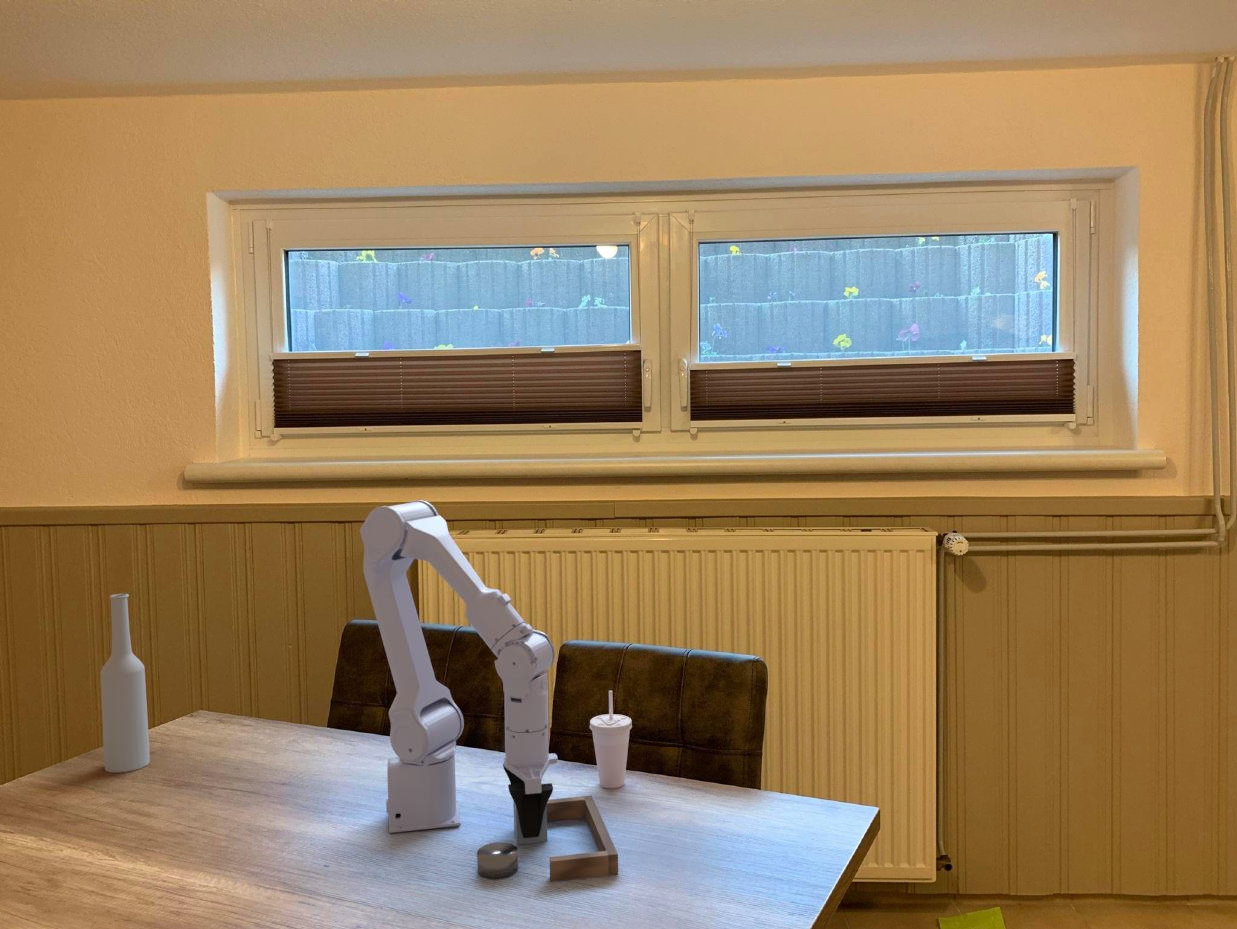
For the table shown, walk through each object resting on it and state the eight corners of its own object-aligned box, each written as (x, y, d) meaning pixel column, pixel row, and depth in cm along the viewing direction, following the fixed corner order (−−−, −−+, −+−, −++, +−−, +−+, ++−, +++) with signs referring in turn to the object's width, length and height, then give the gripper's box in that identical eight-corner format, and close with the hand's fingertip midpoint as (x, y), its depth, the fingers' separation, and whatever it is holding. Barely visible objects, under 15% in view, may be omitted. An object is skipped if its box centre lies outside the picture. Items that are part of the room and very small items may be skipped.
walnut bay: (551, 881, 117) (550, 861, 117) (533, 818, 135) (533, 801, 135) (618, 874, 119) (617, 854, 119) (592, 812, 137) (591, 795, 137)
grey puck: (478, 882, 118) (478, 862, 117) (476, 864, 122) (475, 844, 122) (520, 878, 119) (519, 858, 118) (516, 859, 123) (515, 840, 123)
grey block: (517, 844, 127) (515, 799, 127) (514, 831, 131) (513, 787, 131) (547, 841, 128) (546, 796, 128) (543, 828, 132) (542, 785, 132)
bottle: (150, 755, 163) (142, 589, 161) (149, 768, 157) (140, 596, 155) (106, 762, 160) (97, 593, 159) (103, 775, 154) (93, 600, 153)
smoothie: (635, 775, 150) (633, 686, 149) (631, 792, 144) (629, 698, 143) (593, 775, 151) (591, 685, 150) (588, 791, 144) (586, 698, 144)
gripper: (564, 741, 123) (566, 846, 124) (549, 706, 137) (550, 801, 138) (508, 746, 121) (510, 852, 122) (498, 710, 135) (500, 805, 136)
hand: (528, 825), depth 130 cm, fingers open, 6 cm apart
